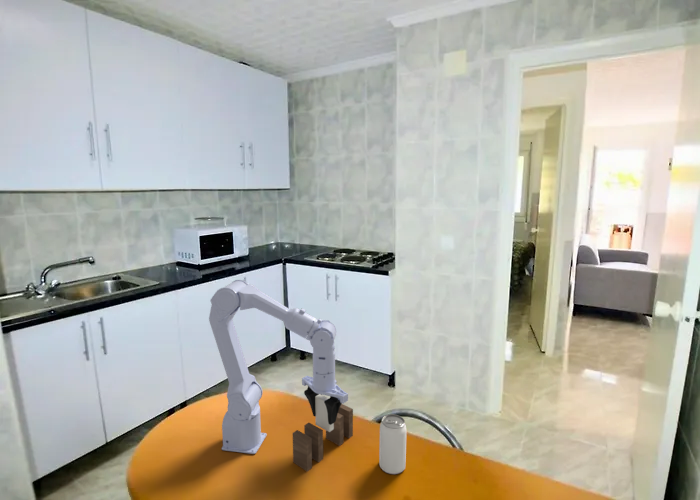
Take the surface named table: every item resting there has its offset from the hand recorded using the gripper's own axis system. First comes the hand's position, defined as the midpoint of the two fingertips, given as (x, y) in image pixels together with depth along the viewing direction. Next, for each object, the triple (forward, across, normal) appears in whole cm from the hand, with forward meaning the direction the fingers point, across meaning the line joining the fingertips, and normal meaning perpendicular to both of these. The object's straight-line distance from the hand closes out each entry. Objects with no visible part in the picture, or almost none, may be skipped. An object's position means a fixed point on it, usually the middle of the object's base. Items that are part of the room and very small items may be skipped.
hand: (324, 418), depth 96 cm
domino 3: (+2, 0, 0) cm, 2 cm away
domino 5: (+9, 0, -8) cm, 12 cm away
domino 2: (+8, 0, +4) cm, 9 cm away
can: (+9, -17, -6) cm, 20 cm away
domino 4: (+8, 0, -4) cm, 9 cm away
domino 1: (+8, 0, +8) cm, 12 cm away
